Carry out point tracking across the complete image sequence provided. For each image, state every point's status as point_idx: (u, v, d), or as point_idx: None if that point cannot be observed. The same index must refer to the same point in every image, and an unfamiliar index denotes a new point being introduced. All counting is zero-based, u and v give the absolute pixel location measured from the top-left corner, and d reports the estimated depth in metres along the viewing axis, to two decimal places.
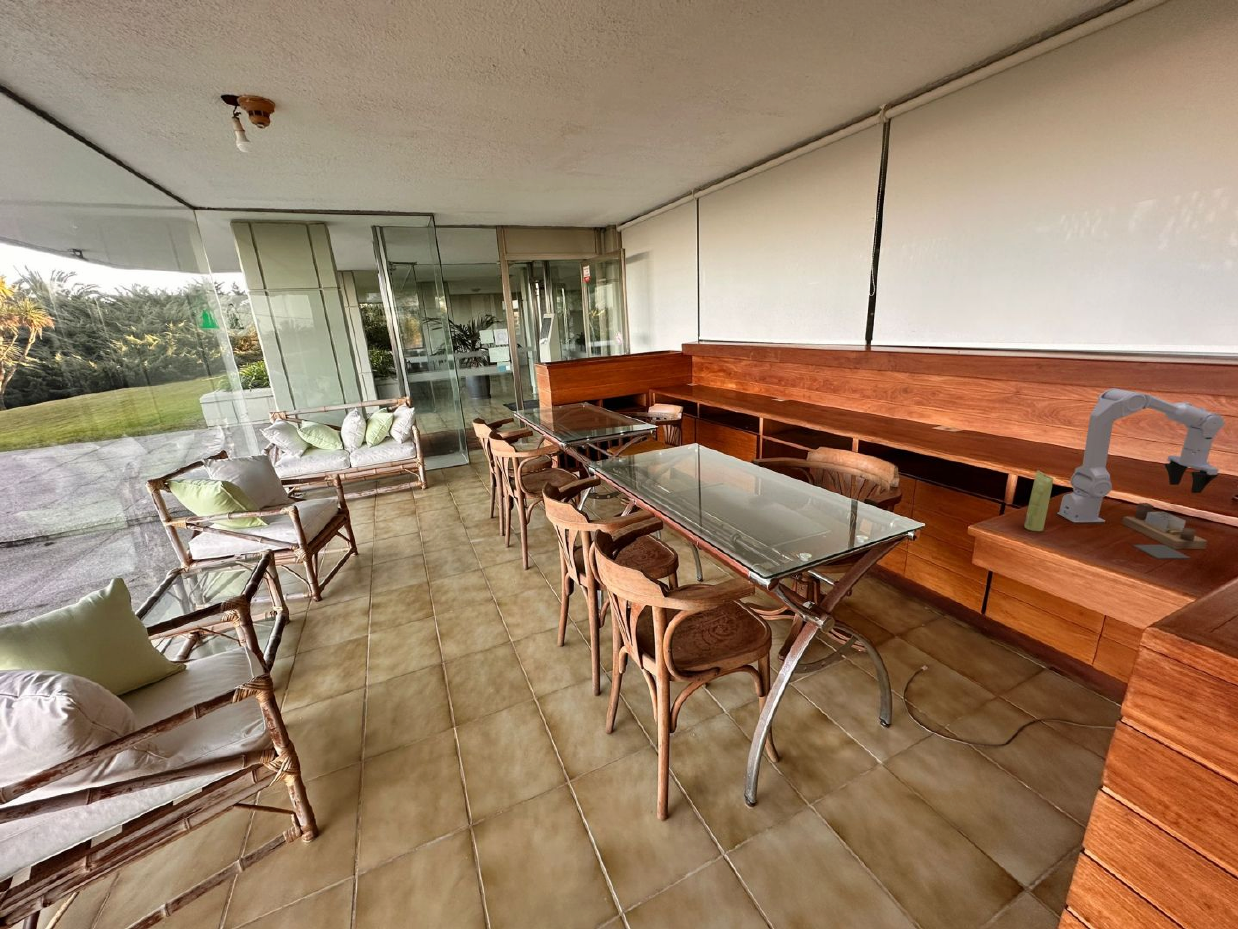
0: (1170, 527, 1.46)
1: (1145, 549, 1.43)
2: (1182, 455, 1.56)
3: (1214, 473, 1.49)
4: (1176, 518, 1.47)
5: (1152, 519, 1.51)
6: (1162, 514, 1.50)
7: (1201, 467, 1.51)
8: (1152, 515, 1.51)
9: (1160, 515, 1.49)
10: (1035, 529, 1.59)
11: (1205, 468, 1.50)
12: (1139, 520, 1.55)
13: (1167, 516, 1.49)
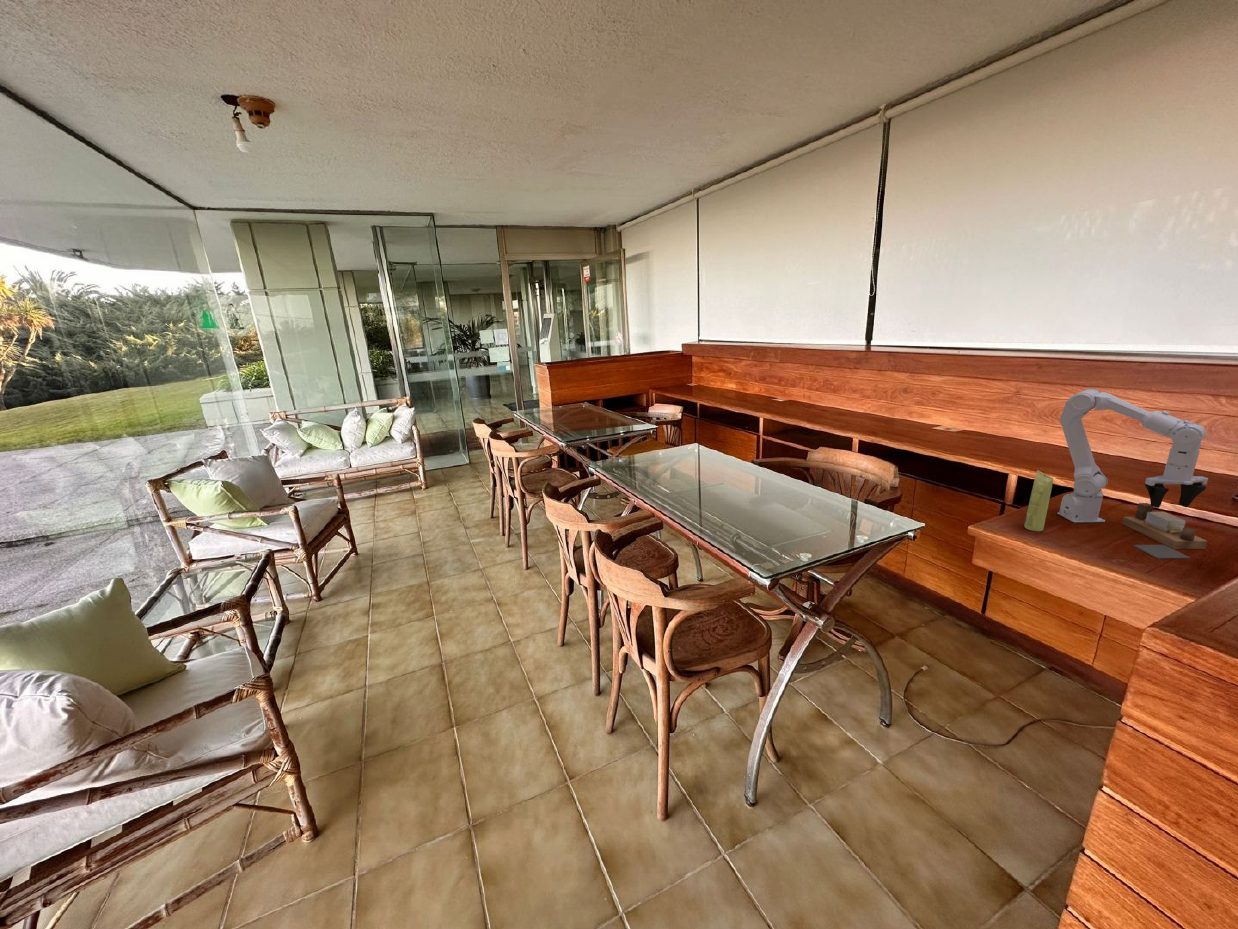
0: (1170, 527, 1.46)
1: (1145, 549, 1.43)
2: None
3: (1149, 483, 1.46)
4: (1176, 518, 1.47)
5: (1152, 519, 1.51)
6: (1162, 514, 1.50)
7: None
8: (1152, 515, 1.51)
9: (1160, 515, 1.49)
10: (1035, 529, 1.59)
11: None
12: (1139, 520, 1.55)
13: (1167, 516, 1.49)
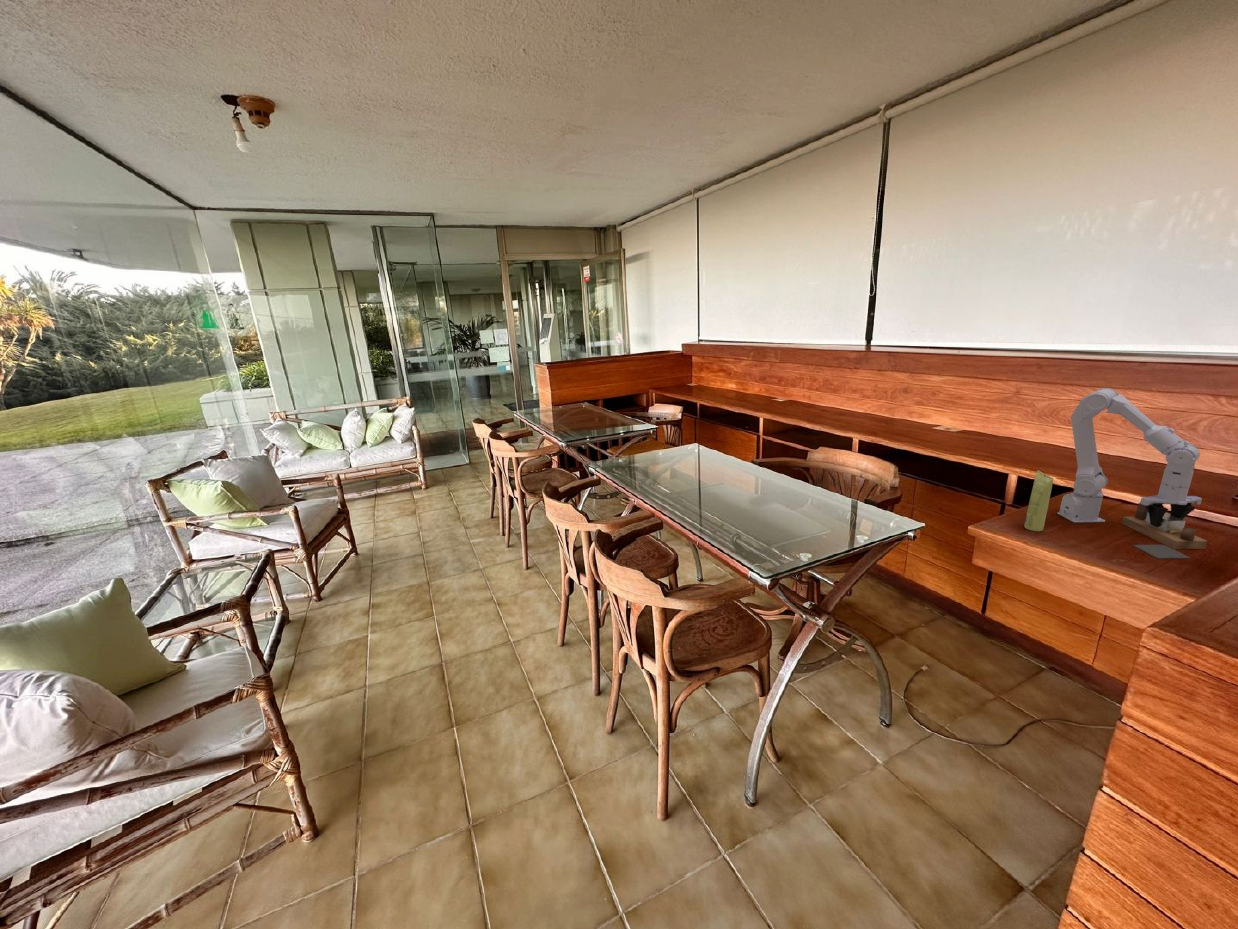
0: (1170, 527, 1.46)
1: (1145, 549, 1.43)
2: None
3: (1144, 503, 1.48)
4: (1176, 518, 1.47)
5: None
6: None
7: (1148, 497, 1.49)
8: None
9: None
10: (1035, 529, 1.59)
11: None
12: (1139, 520, 1.55)
13: (1167, 516, 1.49)
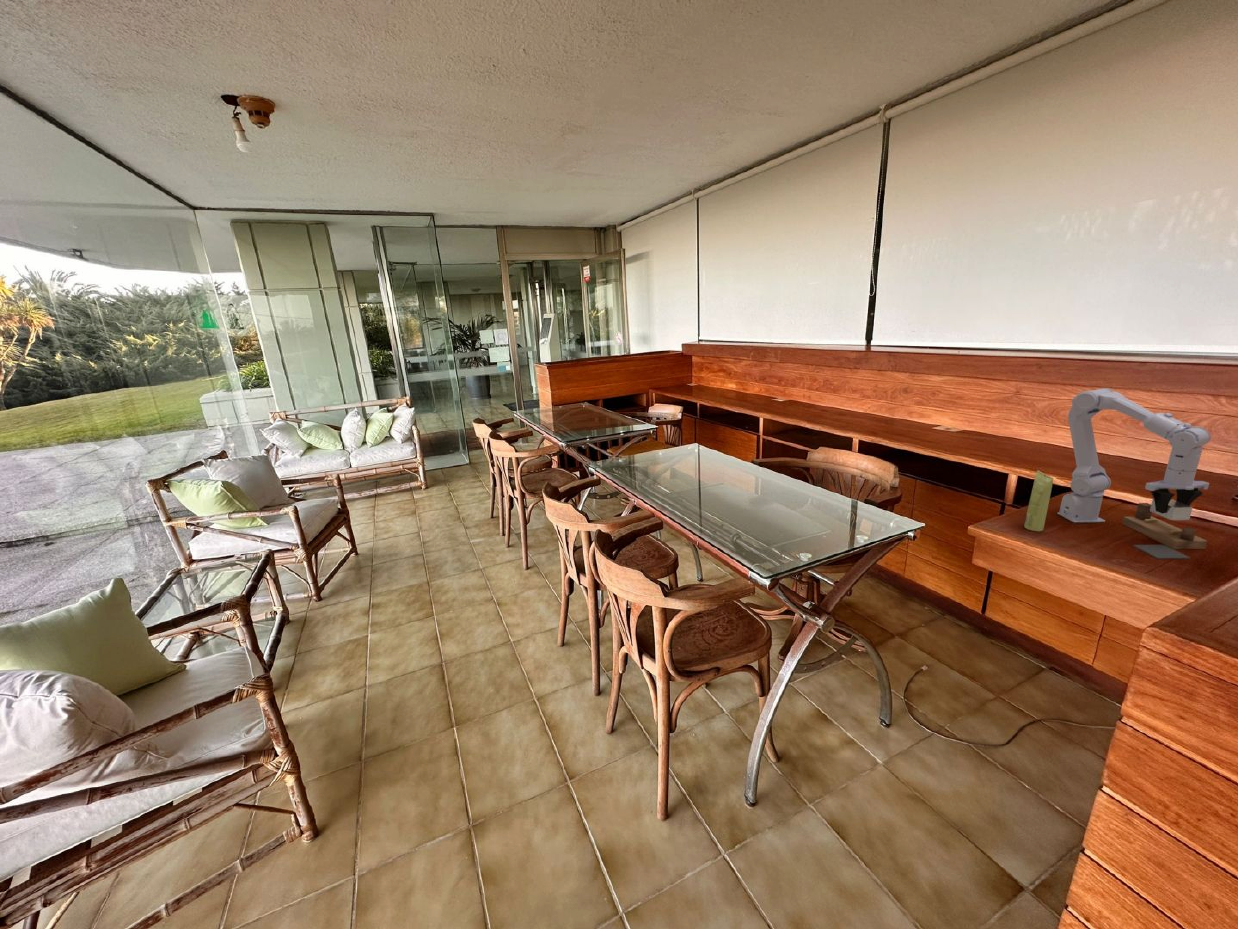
0: (1177, 514, 1.41)
1: (1145, 549, 1.43)
2: None
3: (1149, 488, 1.42)
4: (1182, 504, 1.41)
5: None
6: None
7: None
8: None
9: None
10: (1035, 529, 1.59)
11: None
12: (1139, 520, 1.55)
13: (1173, 502, 1.43)
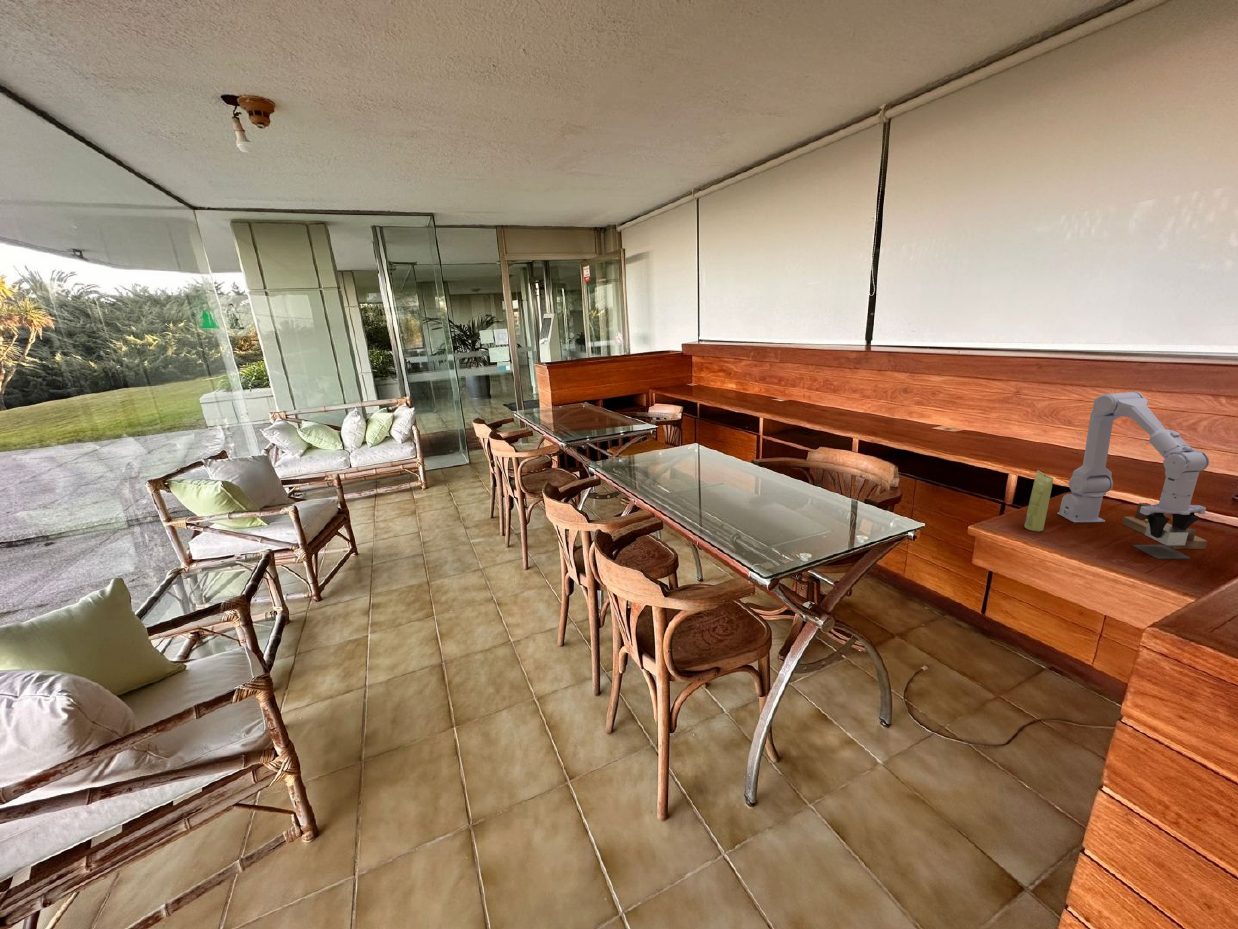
0: (1172, 539, 1.37)
1: (1145, 549, 1.43)
2: None
3: (1144, 512, 1.38)
4: (1178, 529, 1.37)
5: None
6: None
7: (1149, 506, 1.39)
8: None
9: None
10: (1035, 529, 1.59)
11: None
12: (1139, 520, 1.55)
13: (1169, 527, 1.39)
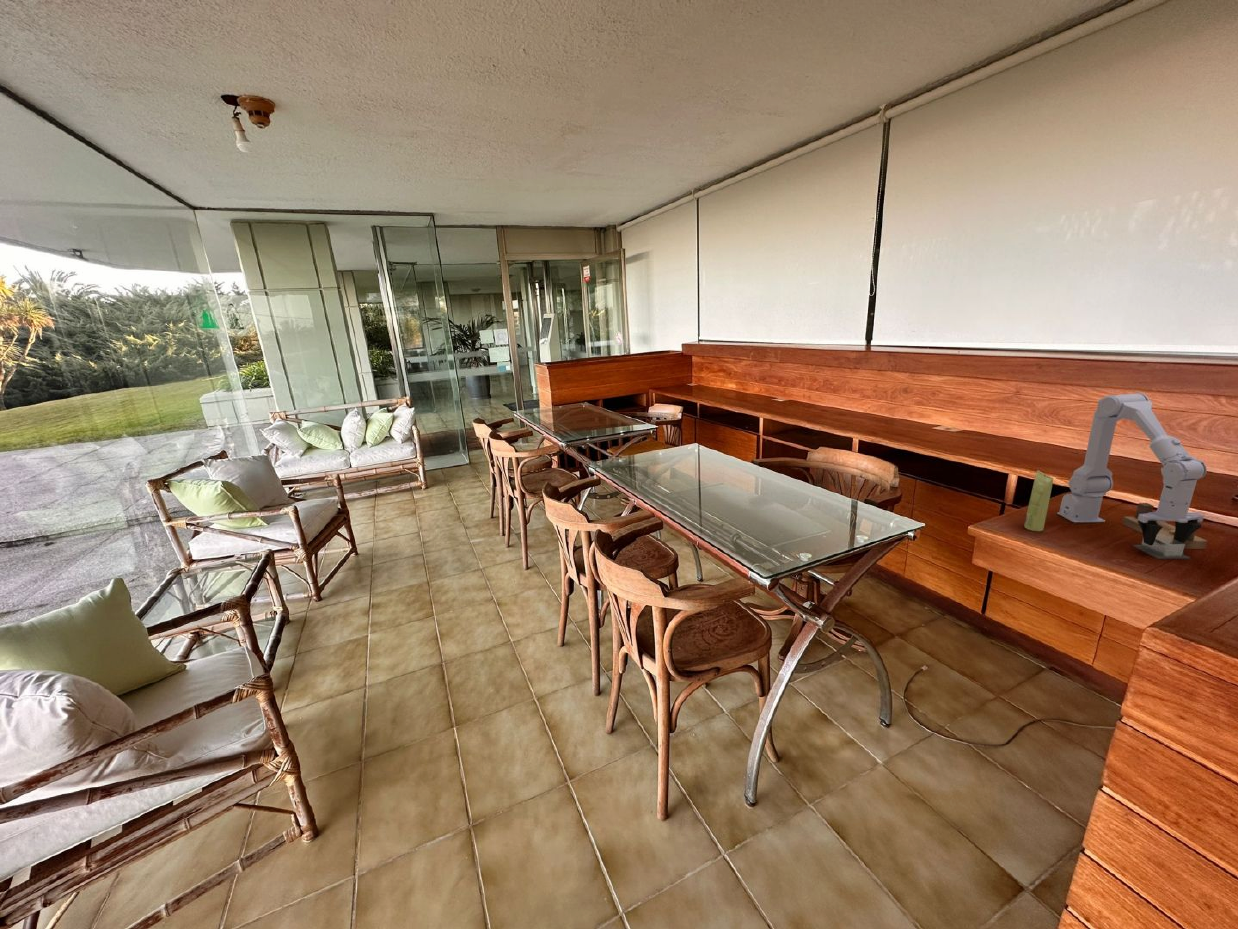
0: (1169, 551, 1.38)
1: (1145, 549, 1.43)
2: None
3: (1142, 520, 1.39)
4: (1175, 541, 1.38)
5: None
6: (1159, 536, 1.42)
7: None
8: None
9: (1157, 538, 1.41)
10: (1035, 529, 1.59)
11: None
12: None
13: (1165, 538, 1.40)
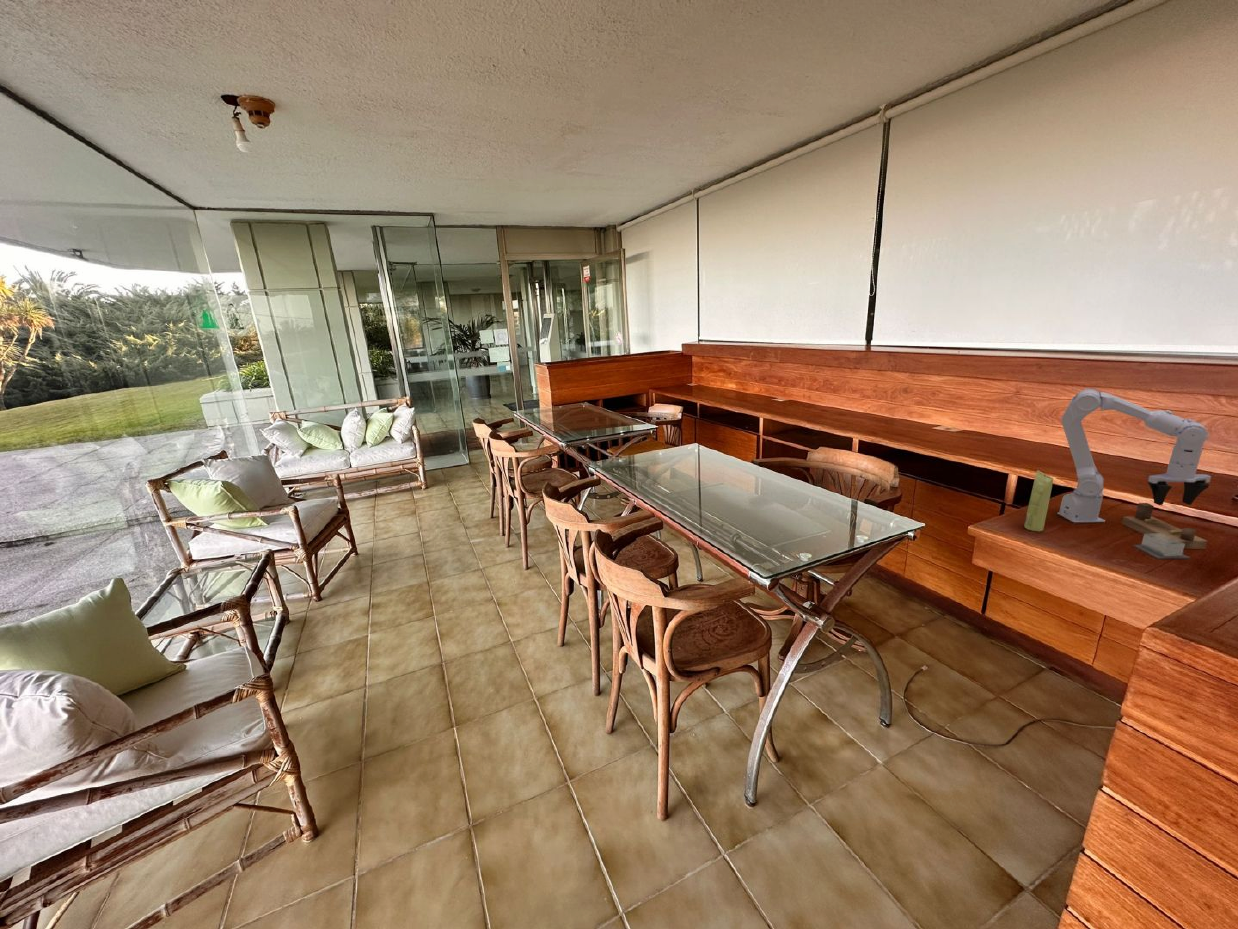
0: (1169, 551, 1.38)
1: (1145, 549, 1.43)
2: None
3: (1152, 481, 1.48)
4: (1175, 541, 1.38)
5: (1150, 541, 1.42)
6: (1159, 536, 1.42)
7: (1157, 475, 1.49)
8: (1149, 538, 1.42)
9: (1157, 538, 1.41)
10: (1035, 529, 1.59)
11: None
12: (1139, 520, 1.55)
13: (1165, 538, 1.40)
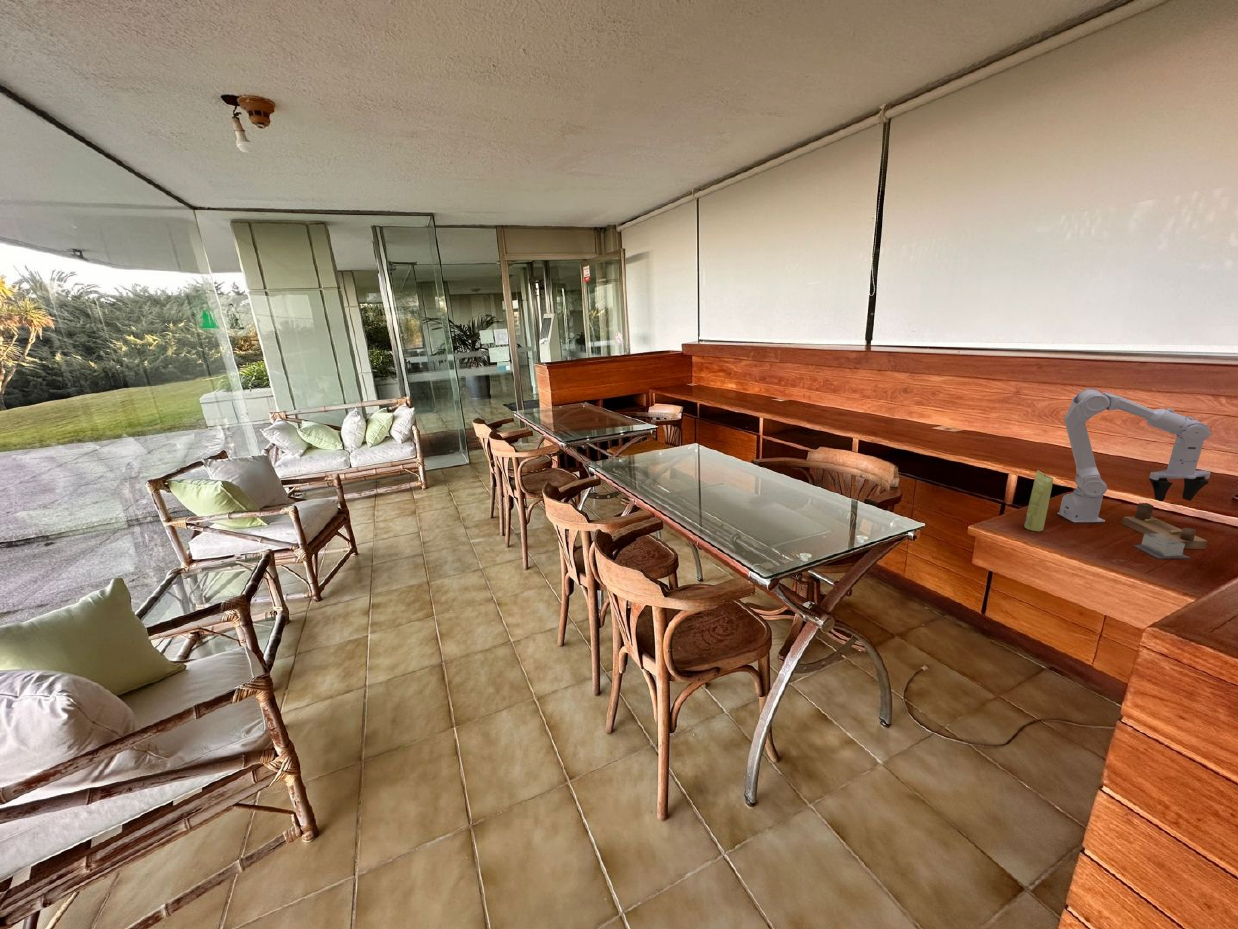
0: (1169, 551, 1.38)
1: (1145, 549, 1.43)
2: None
3: (1153, 477, 1.51)
4: (1175, 541, 1.38)
5: (1150, 541, 1.42)
6: (1159, 536, 1.42)
7: (1158, 472, 1.52)
8: (1149, 538, 1.42)
9: (1157, 538, 1.41)
10: (1035, 529, 1.59)
11: None
12: (1139, 520, 1.55)
13: (1165, 538, 1.40)
